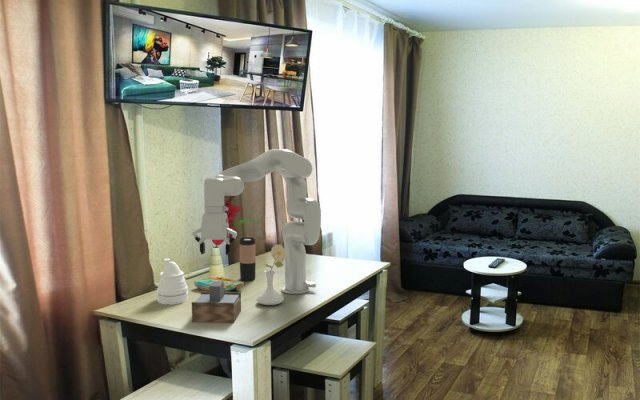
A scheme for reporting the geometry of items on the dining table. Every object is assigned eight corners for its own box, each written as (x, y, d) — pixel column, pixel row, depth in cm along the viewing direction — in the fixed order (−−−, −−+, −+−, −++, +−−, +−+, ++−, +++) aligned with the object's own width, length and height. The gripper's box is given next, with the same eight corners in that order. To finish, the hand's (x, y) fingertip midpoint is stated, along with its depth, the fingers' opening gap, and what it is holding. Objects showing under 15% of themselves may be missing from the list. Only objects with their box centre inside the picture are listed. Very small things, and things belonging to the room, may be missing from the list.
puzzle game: (212, 274, 268) (243, 280, 256) (213, 283, 268) (244, 290, 257) (193, 279, 258) (225, 286, 247) (194, 289, 259) (225, 296, 247)
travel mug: (237, 280, 273) (236, 239, 270) (244, 276, 280) (244, 236, 278) (251, 281, 270) (250, 240, 268) (258, 278, 277) (258, 237, 275)
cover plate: (239, 297, 225) (238, 279, 225) (232, 306, 214) (232, 288, 213) (202, 296, 226) (201, 279, 225) (193, 305, 214) (193, 287, 214)
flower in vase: (261, 308, 230) (260, 248, 227) (253, 301, 240) (252, 243, 237) (291, 305, 235) (291, 245, 232) (282, 297, 245) (281, 240, 242)
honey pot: (162, 306, 233) (160, 263, 231) (153, 298, 244) (152, 257, 242) (192, 301, 240) (191, 259, 238) (182, 293, 251) (181, 254, 248)
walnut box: (241, 310, 227) (240, 292, 226) (234, 322, 213) (233, 303, 212) (201, 310, 228) (201, 291, 227) (192, 321, 214) (191, 302, 213)
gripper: (238, 209, 219) (239, 252, 221) (195, 208, 221) (196, 251, 223) (234, 211, 212) (235, 256, 214) (189, 211, 213) (190, 255, 215)
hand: (215, 253), depth 218 cm, fingers open, 9 cm apart
